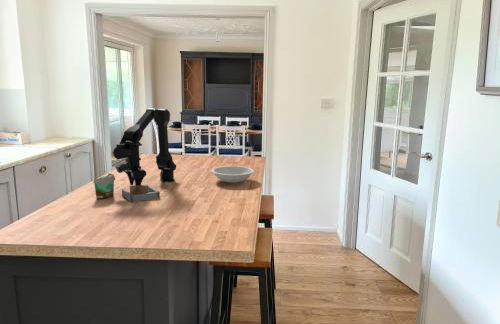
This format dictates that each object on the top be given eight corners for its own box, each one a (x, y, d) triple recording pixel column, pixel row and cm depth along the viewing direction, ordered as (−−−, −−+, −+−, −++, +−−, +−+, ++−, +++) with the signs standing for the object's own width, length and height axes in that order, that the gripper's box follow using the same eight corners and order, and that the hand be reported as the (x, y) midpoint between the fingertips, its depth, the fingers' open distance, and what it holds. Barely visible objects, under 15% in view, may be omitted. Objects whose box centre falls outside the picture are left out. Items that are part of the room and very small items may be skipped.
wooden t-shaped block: (146, 193, 178) (146, 183, 177) (152, 197, 172) (152, 187, 171) (130, 196, 174) (129, 186, 173) (135, 200, 167) (135, 189, 166)
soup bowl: (245, 189, 190) (245, 176, 189) (203, 184, 198) (203, 172, 197) (259, 179, 212) (260, 167, 211) (222, 175, 220) (222, 164, 219)
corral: (149, 191, 183) (149, 185, 182) (159, 197, 172) (159, 191, 171) (122, 195, 175) (121, 188, 175) (131, 202, 164) (130, 196, 164)
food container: (106, 201, 165) (105, 179, 163) (94, 200, 167) (93, 178, 165) (121, 194, 177) (120, 173, 175) (109, 193, 178) (108, 173, 176)
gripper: (110, 154, 180) (112, 185, 183) (121, 160, 165) (123, 194, 168) (133, 152, 186) (134, 182, 189) (146, 158, 171) (147, 190, 174)
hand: (134, 187), depth 180 cm, fingers open, 8 cm apart
